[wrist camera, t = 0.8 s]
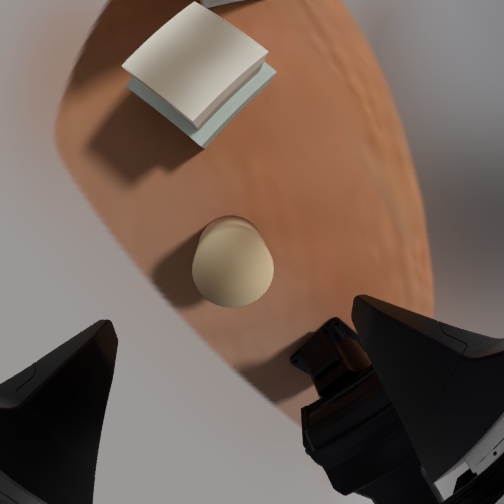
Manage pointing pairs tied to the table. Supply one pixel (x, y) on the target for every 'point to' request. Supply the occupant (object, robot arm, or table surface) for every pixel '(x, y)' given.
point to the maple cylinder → (232, 263)
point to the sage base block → (220, 117)
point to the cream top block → (196, 63)
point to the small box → (216, 2)
